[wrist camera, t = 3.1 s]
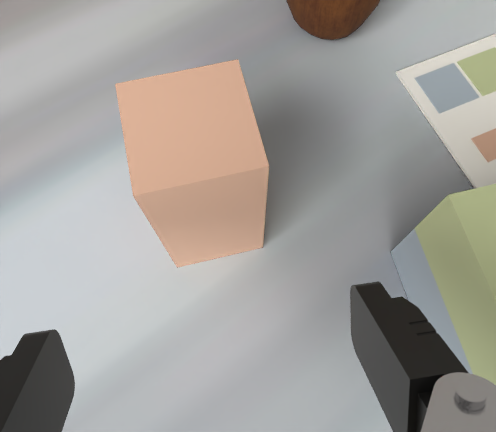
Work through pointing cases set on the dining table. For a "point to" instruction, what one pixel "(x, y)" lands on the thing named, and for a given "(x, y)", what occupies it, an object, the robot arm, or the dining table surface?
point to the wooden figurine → (331, 16)
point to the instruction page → (461, 104)
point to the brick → (196, 160)
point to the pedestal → (456, 275)
